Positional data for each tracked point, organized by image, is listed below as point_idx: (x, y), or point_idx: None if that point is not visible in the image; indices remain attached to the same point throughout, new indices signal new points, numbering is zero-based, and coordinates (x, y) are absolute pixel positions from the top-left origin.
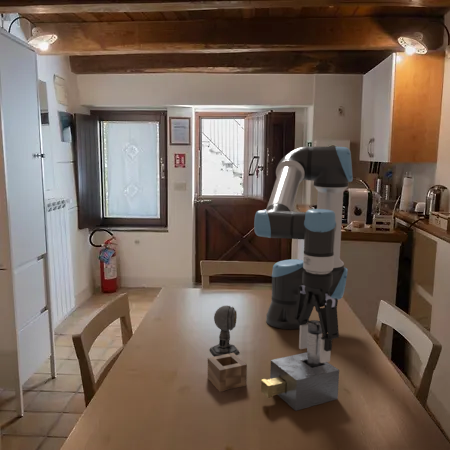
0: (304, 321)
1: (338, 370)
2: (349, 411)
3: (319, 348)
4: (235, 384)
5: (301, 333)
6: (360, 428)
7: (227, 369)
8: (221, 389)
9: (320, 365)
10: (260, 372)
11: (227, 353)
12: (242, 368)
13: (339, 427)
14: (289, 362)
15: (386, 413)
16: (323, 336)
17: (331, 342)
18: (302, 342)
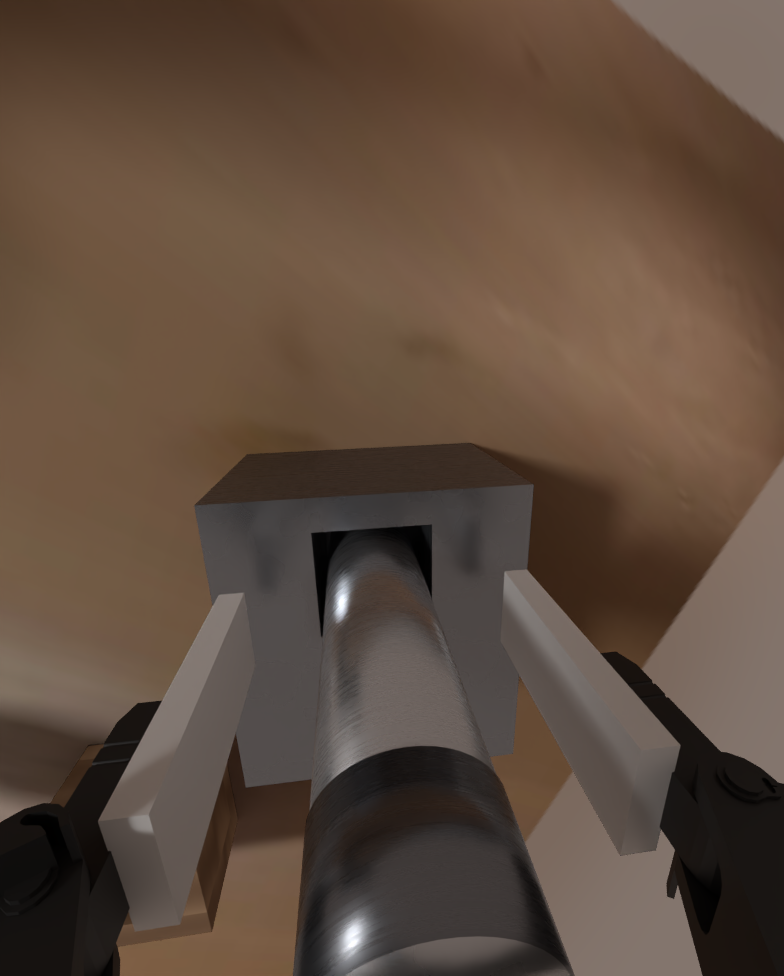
0: (85, 943)
1: (532, 490)
2: (566, 455)
3: (452, 655)
4: (224, 783)
5: (213, 802)
6: (665, 489)
7: (206, 901)
8: (235, 821)
9: (406, 544)
10: (116, 643)
11: None
12: None
13: (620, 554)
14: (314, 710)
15: (661, 310)
16: (685, 879)
17: (689, 728)
18: (239, 695)
